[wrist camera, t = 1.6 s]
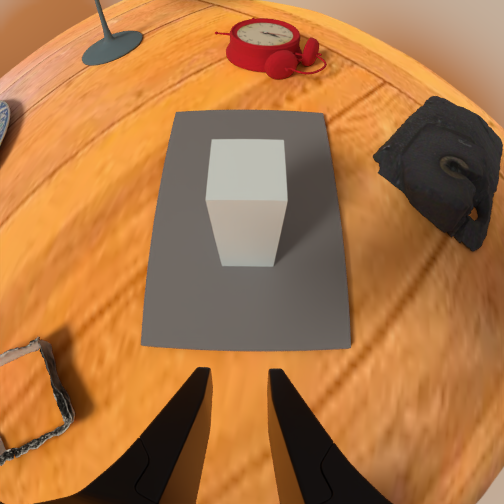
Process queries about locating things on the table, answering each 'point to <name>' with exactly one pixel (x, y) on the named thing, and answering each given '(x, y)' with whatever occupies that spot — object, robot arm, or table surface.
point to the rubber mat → (247, 277)
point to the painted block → (247, 199)
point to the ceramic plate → (4, 119)
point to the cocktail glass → (110, 44)
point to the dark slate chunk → (445, 167)
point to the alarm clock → (270, 48)
